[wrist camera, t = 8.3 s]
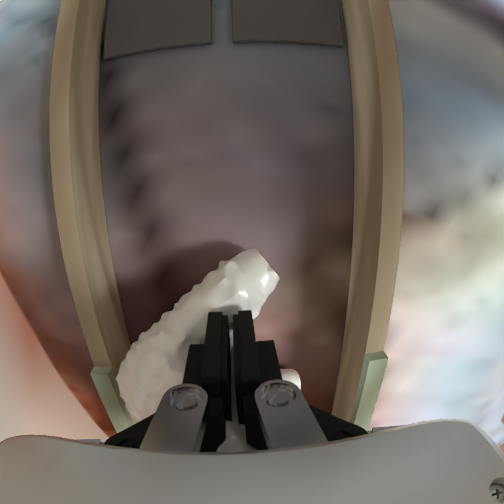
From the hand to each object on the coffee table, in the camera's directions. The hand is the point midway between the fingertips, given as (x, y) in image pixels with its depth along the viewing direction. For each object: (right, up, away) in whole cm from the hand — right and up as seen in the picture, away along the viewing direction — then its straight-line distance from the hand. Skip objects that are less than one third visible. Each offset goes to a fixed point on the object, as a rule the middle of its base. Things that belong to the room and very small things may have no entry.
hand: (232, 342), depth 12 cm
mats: (-1, +16, -1) cm, 16 cm away
